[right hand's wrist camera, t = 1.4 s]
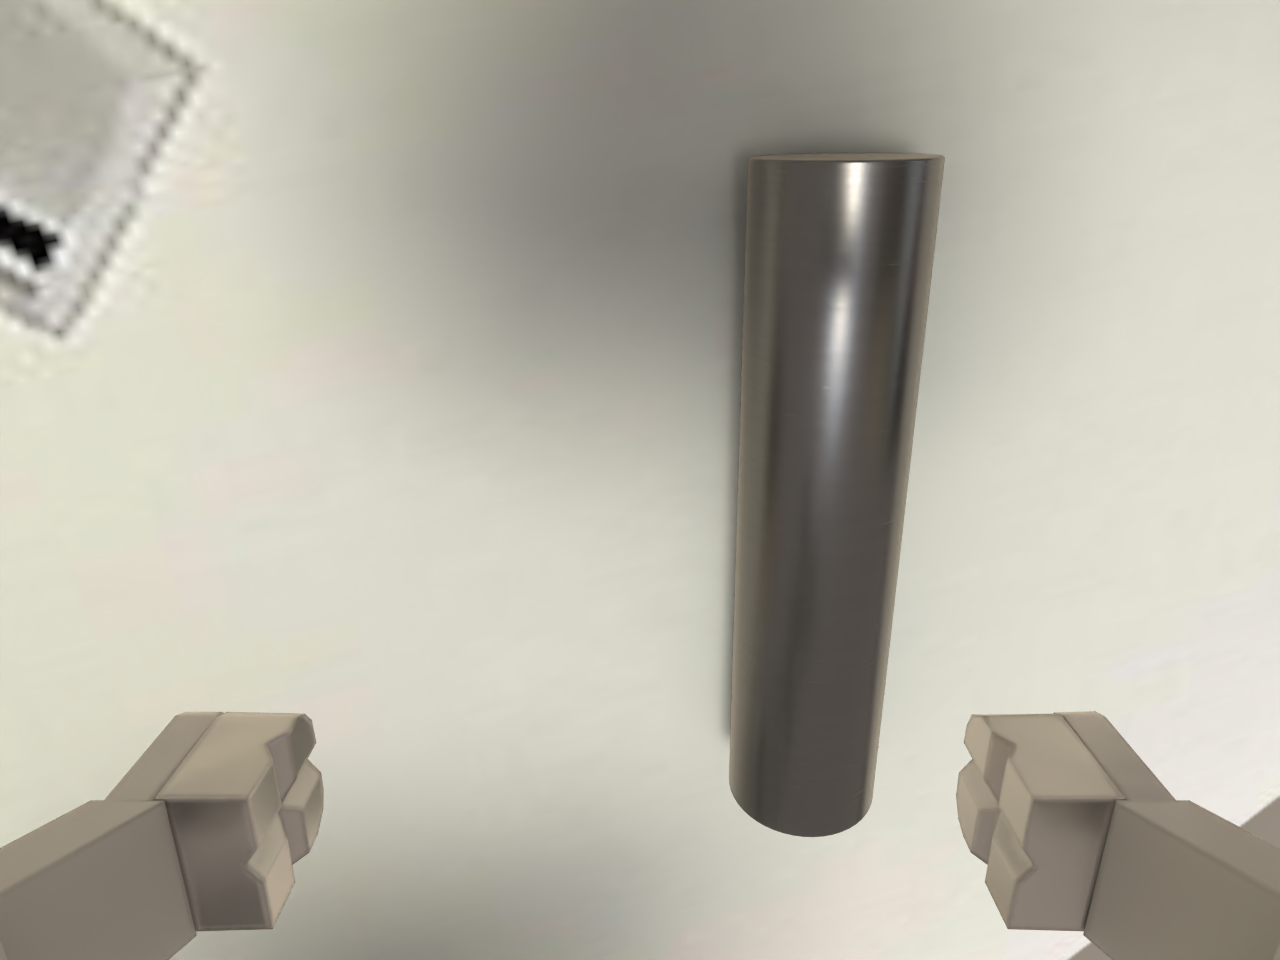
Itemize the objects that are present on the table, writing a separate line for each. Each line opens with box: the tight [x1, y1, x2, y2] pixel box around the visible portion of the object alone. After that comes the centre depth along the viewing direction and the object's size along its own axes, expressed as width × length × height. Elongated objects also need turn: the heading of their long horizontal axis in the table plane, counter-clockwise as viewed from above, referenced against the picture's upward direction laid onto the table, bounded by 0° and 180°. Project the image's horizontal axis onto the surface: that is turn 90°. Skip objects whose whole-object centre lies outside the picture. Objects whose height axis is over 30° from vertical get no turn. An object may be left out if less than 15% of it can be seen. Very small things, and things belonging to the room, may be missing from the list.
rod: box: [729, 153, 945, 837], centre depth 32 cm, size 25×6×6 cm, turn 1°
